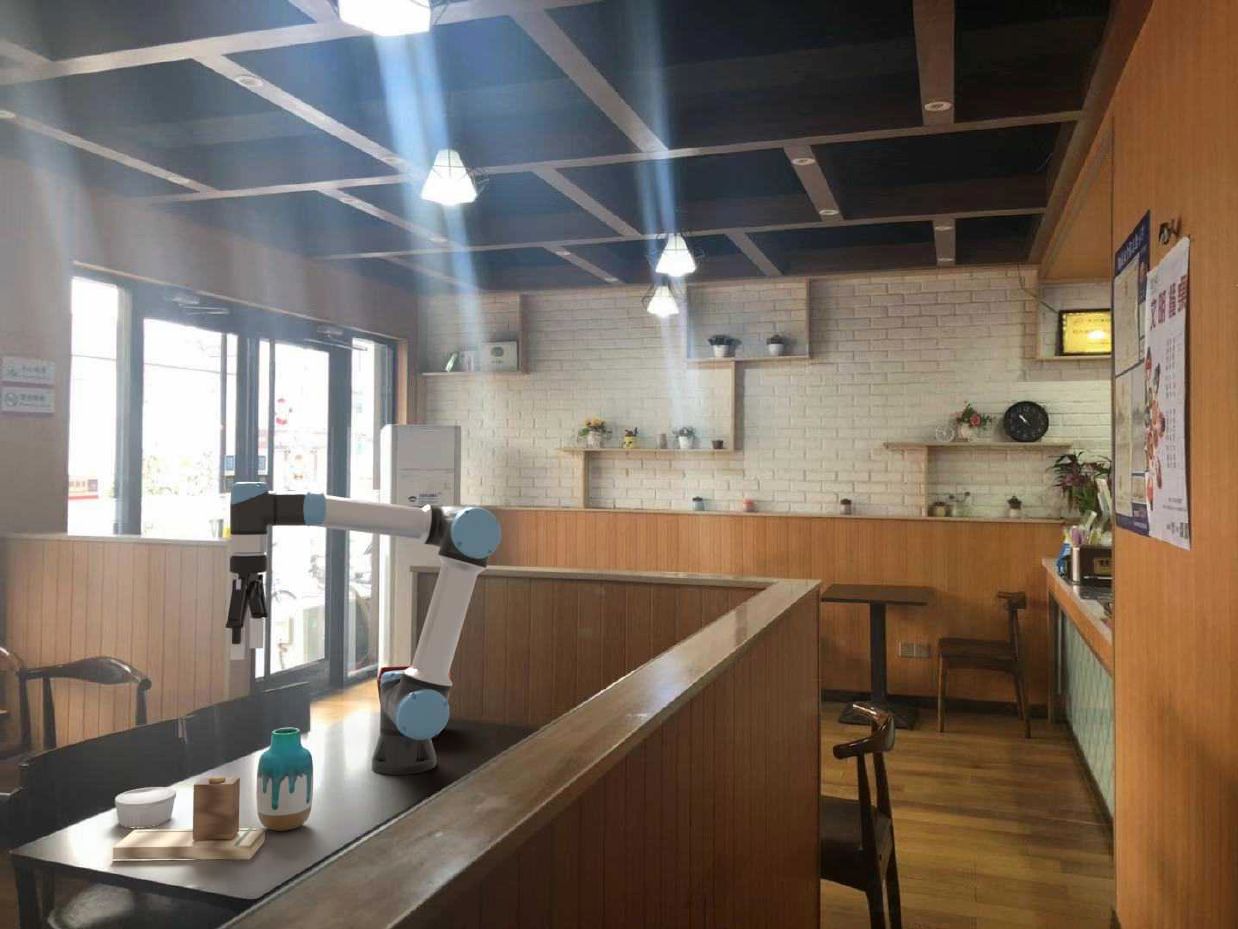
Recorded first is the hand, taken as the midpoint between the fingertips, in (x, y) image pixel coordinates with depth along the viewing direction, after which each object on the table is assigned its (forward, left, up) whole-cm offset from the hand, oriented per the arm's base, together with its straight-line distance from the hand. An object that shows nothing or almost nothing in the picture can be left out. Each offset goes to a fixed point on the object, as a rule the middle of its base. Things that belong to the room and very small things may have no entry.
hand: (247, 653), depth 208 cm
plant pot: (-28, -56, -32) cm, 70 cm away
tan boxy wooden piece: (-3, +26, -29) cm, 39 cm away
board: (+1, +28, -32) cm, 42 cm away
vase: (-13, +16, -32) cm, 38 cm away
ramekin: (+16, +11, -32) cm, 37 cm away
